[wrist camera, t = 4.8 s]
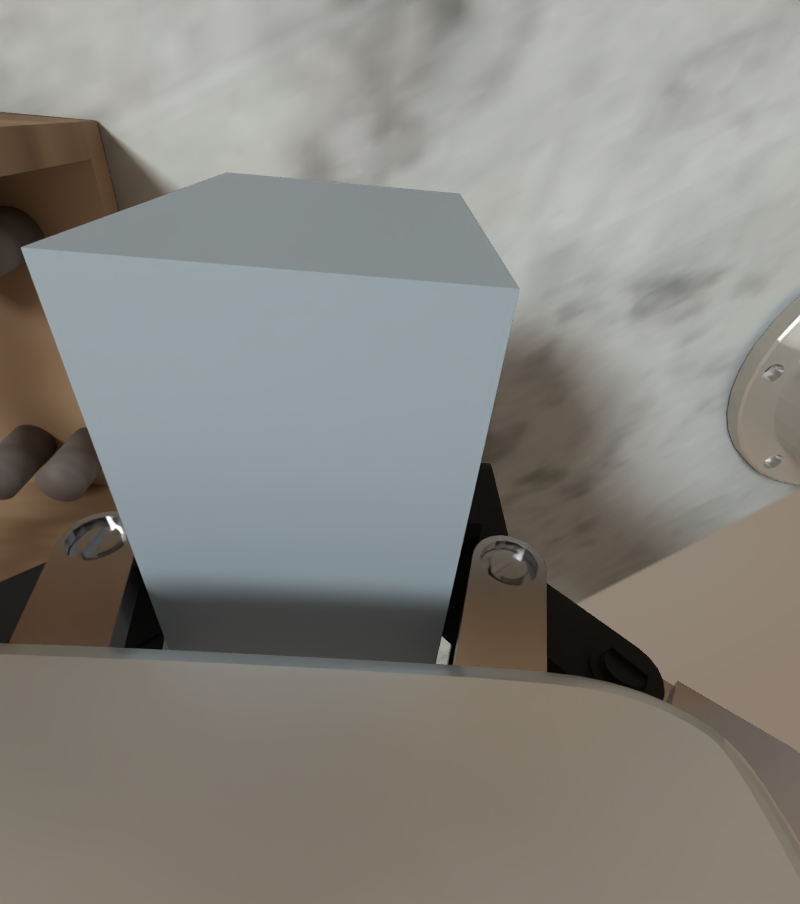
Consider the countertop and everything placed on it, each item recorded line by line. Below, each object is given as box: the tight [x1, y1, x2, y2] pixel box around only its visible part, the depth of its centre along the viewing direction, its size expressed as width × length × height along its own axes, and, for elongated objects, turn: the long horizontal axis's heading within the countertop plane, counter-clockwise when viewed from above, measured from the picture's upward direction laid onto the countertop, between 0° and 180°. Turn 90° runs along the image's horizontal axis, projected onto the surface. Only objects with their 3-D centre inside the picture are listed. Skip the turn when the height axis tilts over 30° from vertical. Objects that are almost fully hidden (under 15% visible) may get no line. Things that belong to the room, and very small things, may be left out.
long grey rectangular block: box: [21, 173, 519, 664], centre depth 10 cm, size 4×12×6 cm, turn 176°
